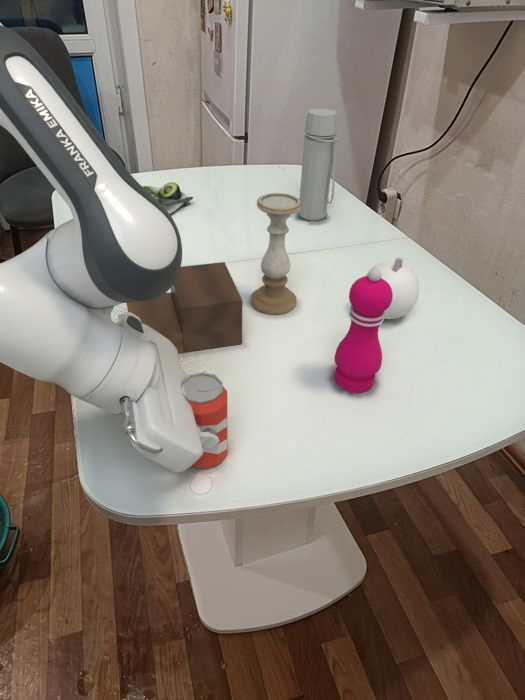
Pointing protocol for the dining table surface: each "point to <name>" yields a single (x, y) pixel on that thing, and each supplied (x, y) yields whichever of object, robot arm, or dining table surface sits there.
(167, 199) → the avocado toast plate
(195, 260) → the dining table surface
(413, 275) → the ornament
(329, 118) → the water bottle
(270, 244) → the candle holder
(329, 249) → the dining table surface
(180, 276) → the step shelf
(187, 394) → the beverage can
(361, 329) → the pepper mill
